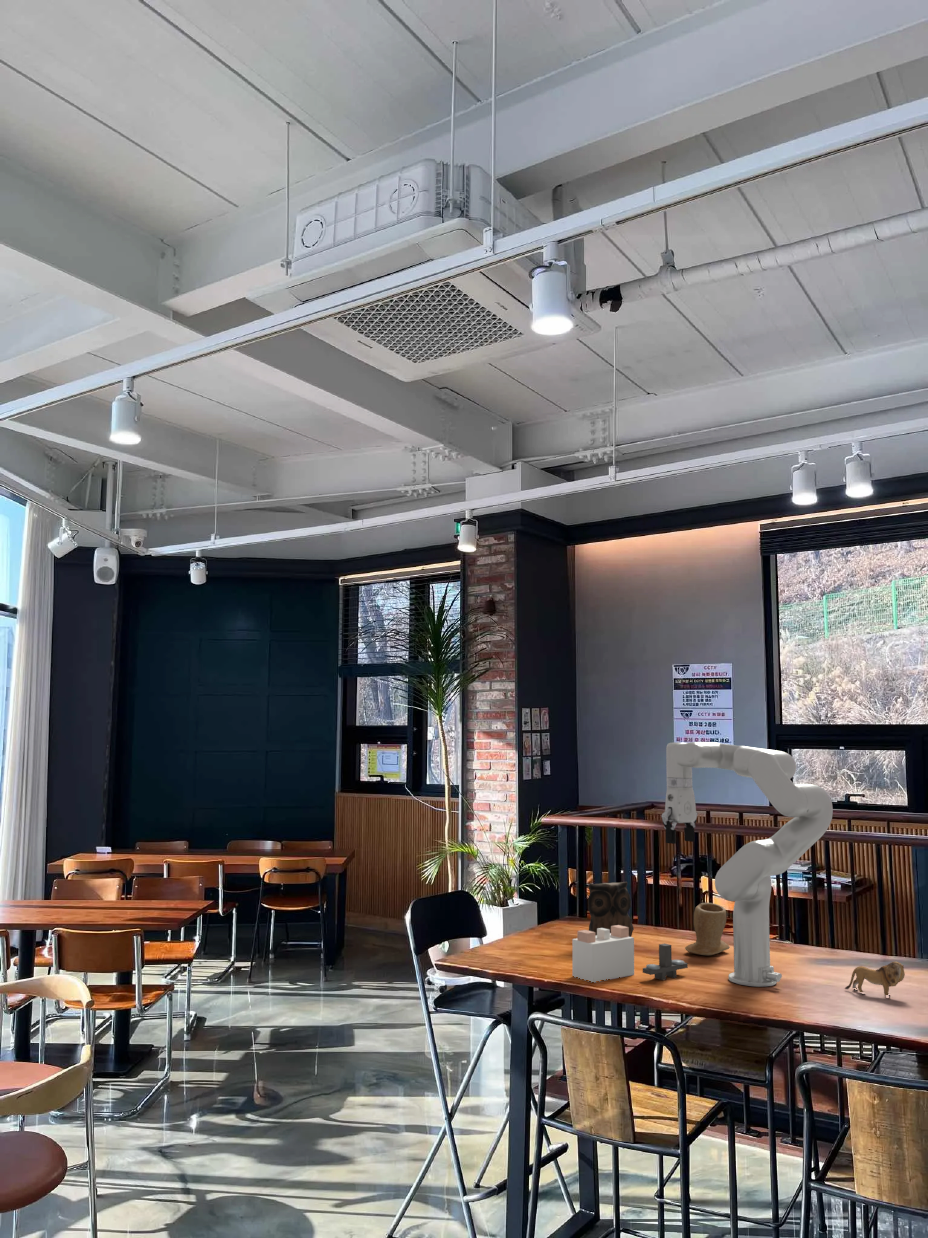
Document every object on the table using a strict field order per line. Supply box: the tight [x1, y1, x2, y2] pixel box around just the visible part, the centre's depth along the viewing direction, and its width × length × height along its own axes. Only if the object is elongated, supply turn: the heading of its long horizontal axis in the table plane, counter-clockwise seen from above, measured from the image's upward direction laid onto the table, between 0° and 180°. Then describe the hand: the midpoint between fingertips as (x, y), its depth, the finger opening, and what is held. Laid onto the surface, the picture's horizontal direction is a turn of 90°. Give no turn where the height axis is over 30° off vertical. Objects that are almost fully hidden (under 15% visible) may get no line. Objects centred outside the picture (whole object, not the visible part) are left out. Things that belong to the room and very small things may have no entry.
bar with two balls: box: [642, 943, 689, 981], centre depth 259 cm, size 4×15×9 cm, turn 126°
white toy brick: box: [571, 925, 635, 983], centre depth 261 cm, size 8×16×12 cm, turn 126°
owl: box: [587, 881, 635, 937], centre depth 299 cm, size 13×13×20 cm
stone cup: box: [684, 902, 731, 956], centre depth 291 cm, size 15×12×15 cm
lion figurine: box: [844, 961, 906, 996], centre depth 245 cm, size 15×5×9 cm, turn 62°
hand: (680, 842), depth 278 cm, fingers open, 9 cm apart
